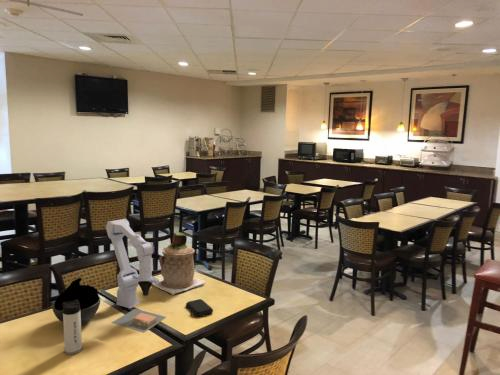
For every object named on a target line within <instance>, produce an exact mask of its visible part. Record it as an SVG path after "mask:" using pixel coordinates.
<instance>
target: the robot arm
mask: <svg viewBox="0 0 500 375" xmlns="http://www.w3.org/2000/svg"><path fill="white" fill-rule="evenodd" d="M105 230H106V233H107V236H108V239H110V241H111V244H112V246H113V249H114V252H115V256H116V260H117V263H118V266H119V269H120V271H119V273H117V276H116V278H117V286H118V288H117V291H116V303H115V305H116V306H120V307H124V308H127V309H131V308H134V307H135V306H137V305H138V304H140V303H141V301H139V300H138V296H137V295H138V294H137V293H138V291H137V290H138V287H140V290H141V292H142V296H143V297H147V296H149V293H150V289H151V286H153V284H152V283H155V284H158V283H159V279H158V278H156V277H155V276H153V275H152V273H153V272H152V265H153V264H152V263H153V262H152V255H153V254H154V252H155V247H154V245H153V243H152V242H149V241H146V240H145V238H143V237H142V236H141V235H140V234H138V233H137V234H136V233H135V232H134V231H133V229H132V228H131V227H130V222H129V220H128V219H127V218H122V219H121V218H120V219H117V220H116V219H115V220H112V221H111V220H108V221H107V223H106V227H105ZM124 236H125V237H126V238H128V239H129V244H131V246H132V247H133V248H134V249H135V251H136V254H137V259H138V268H139V269H138V271H139V272H138V271H137V269H135V268H133V267H131V263H130V260H129V257H128V254H127V250H126V247H125V244H124V240H123V238H124ZM138 273H139V274H138Z"/></svg>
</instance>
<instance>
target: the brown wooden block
mask: <svg viewBox="0 0 500 375" xmlns="http://www.w3.org/2000/svg"><path fill="white" fill-rule="evenodd" d="M156 322H157V317H155V316H151V315H148V314H144V313H140V314H138V315H137V316H135V317H133V318H132V323H133V324H136V325H140V326H143V327H147V328H149V327H150V326H152V325H153V324H154V323H156Z"/></svg>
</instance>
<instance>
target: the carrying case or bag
mask: <svg viewBox="0 0 500 375" xmlns="http://www.w3.org/2000/svg"><path fill="white" fill-rule="evenodd" d="M185 307H186V308H187V309H188V310H189V312H190V314H191V315H193V316H195V317H196V318H197V317H198V318H199V317H200V318H201V317H204V316H208V315H211V314H212V313H213V312H214V309H213V308H212V307H211V306H210V305H209V304H208V303H207V302H206V301H204V300H203V299H201V298H200V299H195V300H190V301H187V302H186V304H185Z"/></svg>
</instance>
